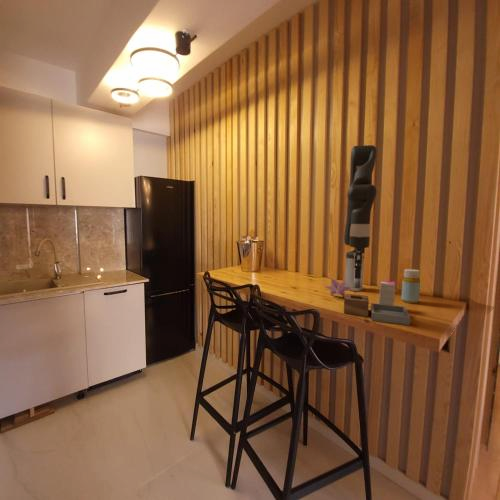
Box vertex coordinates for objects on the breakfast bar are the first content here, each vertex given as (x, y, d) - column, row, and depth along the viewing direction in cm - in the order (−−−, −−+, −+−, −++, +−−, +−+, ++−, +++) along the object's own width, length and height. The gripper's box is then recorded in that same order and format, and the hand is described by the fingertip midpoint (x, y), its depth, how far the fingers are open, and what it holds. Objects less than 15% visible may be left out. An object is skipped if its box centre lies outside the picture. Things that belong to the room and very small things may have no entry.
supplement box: (393, 311, 114) (395, 284, 113) (378, 308, 117) (379, 282, 116) (394, 307, 119) (395, 281, 118) (379, 305, 122) (380, 280, 121)
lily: (356, 302, 131) (354, 282, 134) (344, 296, 123) (343, 276, 127) (333, 304, 139) (332, 286, 142) (321, 299, 131) (320, 280, 135)
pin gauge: (353, 286, 114) (354, 257, 113) (360, 286, 113) (362, 258, 112) (353, 287, 112) (354, 258, 110) (360, 288, 111) (362, 259, 109)
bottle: (397, 300, 130) (399, 269, 128) (408, 299, 132) (410, 268, 131) (411, 304, 123) (413, 271, 122) (422, 303, 126) (424, 270, 124)
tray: (370, 309, 116) (370, 302, 115) (404, 313, 111) (404, 306, 111) (371, 320, 103) (372, 312, 103) (409, 325, 99) (410, 317, 98)
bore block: (345, 307, 119) (345, 293, 119) (367, 309, 116) (368, 295, 115) (343, 313, 111) (344, 298, 110) (367, 316, 108) (368, 301, 107)
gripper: (350, 234, 118) (348, 274, 120) (349, 235, 105) (347, 280, 107) (369, 234, 115) (367, 275, 117) (370, 236, 102) (367, 282, 104)
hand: (357, 277), depth 112 cm, fingers closed on pin gauge, 2 cm apart
